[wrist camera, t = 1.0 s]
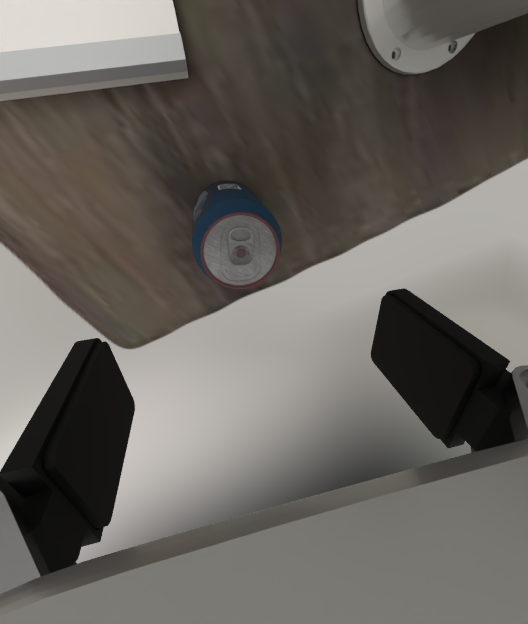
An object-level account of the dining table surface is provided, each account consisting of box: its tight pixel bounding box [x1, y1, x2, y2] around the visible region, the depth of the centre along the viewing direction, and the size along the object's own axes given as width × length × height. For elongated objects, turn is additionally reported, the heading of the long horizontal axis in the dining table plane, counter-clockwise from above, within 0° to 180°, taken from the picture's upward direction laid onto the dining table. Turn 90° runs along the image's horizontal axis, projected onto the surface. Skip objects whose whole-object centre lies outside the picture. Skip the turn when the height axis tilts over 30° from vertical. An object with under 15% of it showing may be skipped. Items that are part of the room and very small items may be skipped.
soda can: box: [192, 181, 282, 289], centre depth 25 cm, size 7×7×12 cm
